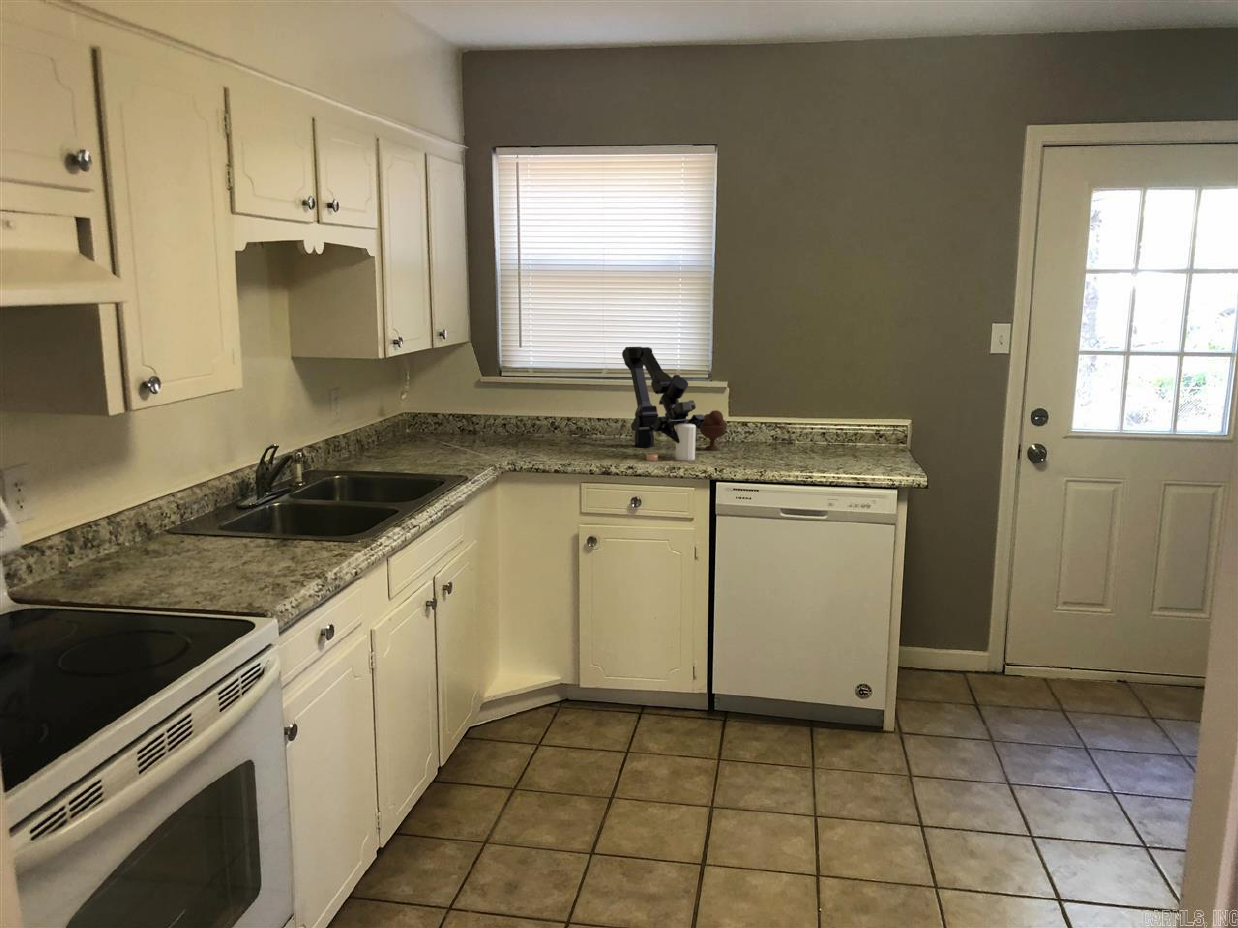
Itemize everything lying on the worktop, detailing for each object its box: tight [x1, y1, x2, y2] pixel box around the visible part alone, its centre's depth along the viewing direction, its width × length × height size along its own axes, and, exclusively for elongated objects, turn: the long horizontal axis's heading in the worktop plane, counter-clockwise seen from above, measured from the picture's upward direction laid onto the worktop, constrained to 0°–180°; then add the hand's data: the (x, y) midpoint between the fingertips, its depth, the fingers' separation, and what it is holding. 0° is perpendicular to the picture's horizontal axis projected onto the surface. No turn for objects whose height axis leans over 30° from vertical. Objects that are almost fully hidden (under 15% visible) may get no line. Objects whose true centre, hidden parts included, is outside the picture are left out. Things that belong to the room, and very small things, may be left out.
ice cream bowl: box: [698, 409, 728, 452], centre depth 352 cm, size 11×11×15 cm
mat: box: [664, 455, 700, 463], centre depth 332 cm, size 9×9×1 cm
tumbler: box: [674, 424, 696, 461], centre depth 330 cm, size 7×7×12 cm
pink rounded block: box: [646, 453, 659, 462], centre depth 328 cm, size 4×4×2 cm
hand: (687, 442), depth 329 cm, fingers closed on tumbler, 7 cm apart
